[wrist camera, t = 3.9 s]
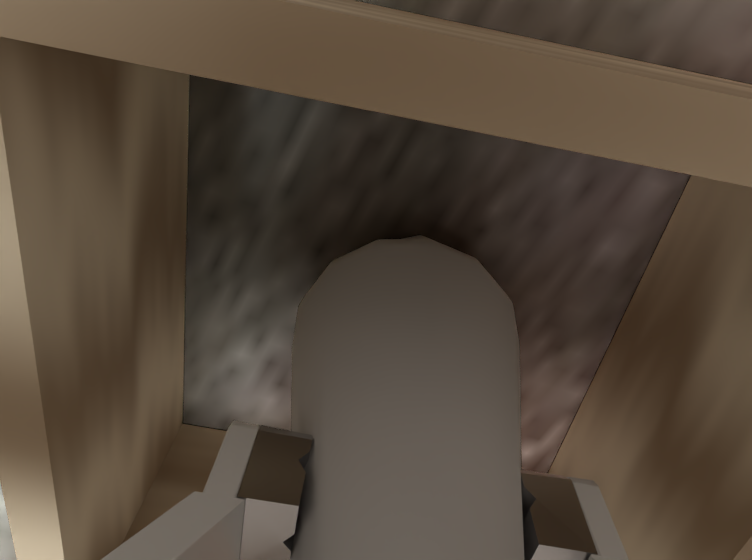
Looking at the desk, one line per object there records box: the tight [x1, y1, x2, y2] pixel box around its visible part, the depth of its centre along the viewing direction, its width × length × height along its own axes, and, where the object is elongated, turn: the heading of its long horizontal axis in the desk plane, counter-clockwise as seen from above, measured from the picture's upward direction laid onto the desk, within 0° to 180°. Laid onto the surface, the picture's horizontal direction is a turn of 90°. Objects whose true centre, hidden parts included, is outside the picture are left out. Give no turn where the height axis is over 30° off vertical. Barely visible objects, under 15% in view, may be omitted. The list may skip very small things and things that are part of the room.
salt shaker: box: [290, 235, 524, 560], centre depth 10 cm, size 6×6×13 cm
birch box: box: [0, 0, 752, 560], centre depth 13 cm, size 15×15×7 cm
